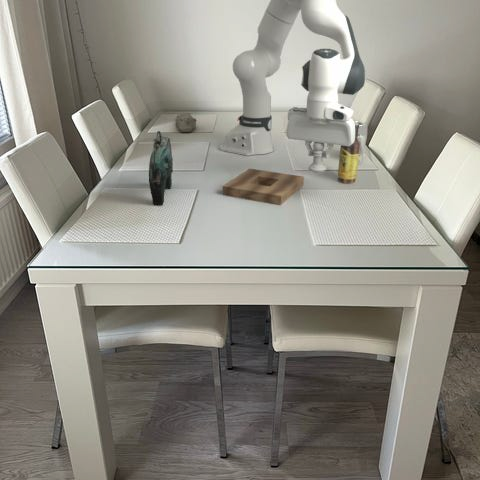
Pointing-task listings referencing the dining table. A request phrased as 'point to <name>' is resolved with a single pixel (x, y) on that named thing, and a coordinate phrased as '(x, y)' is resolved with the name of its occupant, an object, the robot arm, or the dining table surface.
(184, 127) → the long grey stone
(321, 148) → the chess piece
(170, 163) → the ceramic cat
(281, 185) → the walnut board
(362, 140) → the beer glass
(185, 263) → the dining table surface
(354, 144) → the sauce bottle
